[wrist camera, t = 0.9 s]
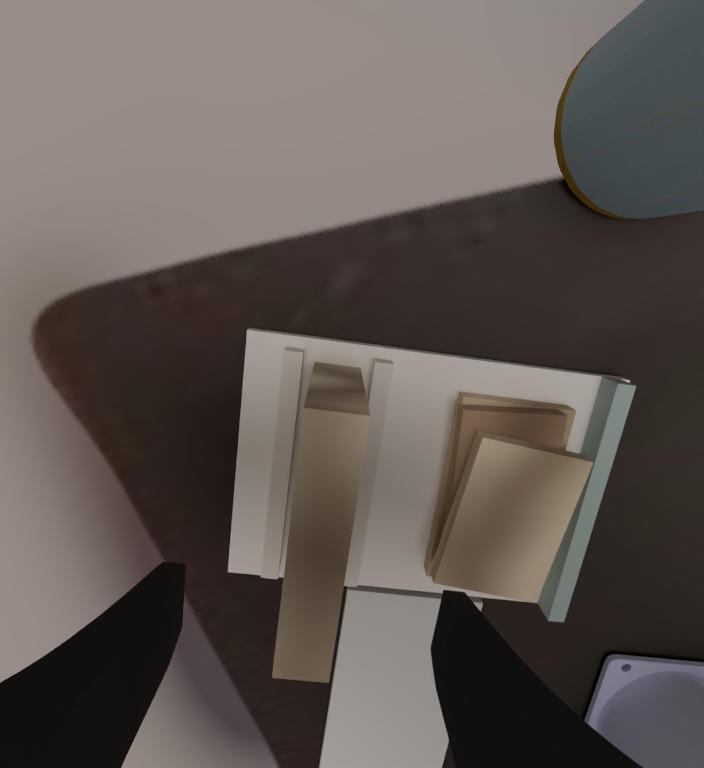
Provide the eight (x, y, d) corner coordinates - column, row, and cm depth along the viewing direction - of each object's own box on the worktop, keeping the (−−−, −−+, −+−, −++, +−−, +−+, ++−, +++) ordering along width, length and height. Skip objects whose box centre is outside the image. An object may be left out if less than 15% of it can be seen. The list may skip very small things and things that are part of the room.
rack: (621, 377, 21) (647, 387, 19) (556, 597, 24) (573, 623, 22) (249, 327, 20) (241, 334, 18) (230, 564, 23) (221, 589, 21)
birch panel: (360, 367, 20) (370, 416, 14) (331, 564, 22) (328, 682, 16) (315, 361, 20) (303, 408, 13) (291, 560, 22) (271, 677, 16)
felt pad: (480, 597, 24) (482, 603, 23) (438, 769, 27) (439, 776, 26) (347, 584, 23) (347, 589, 23) (319, 760, 26) (319, 767, 26)
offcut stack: (575, 406, 21) (604, 424, 18) (528, 576, 23) (549, 611, 20) (455, 390, 20) (470, 407, 18) (420, 564, 22) (429, 599, 20)
